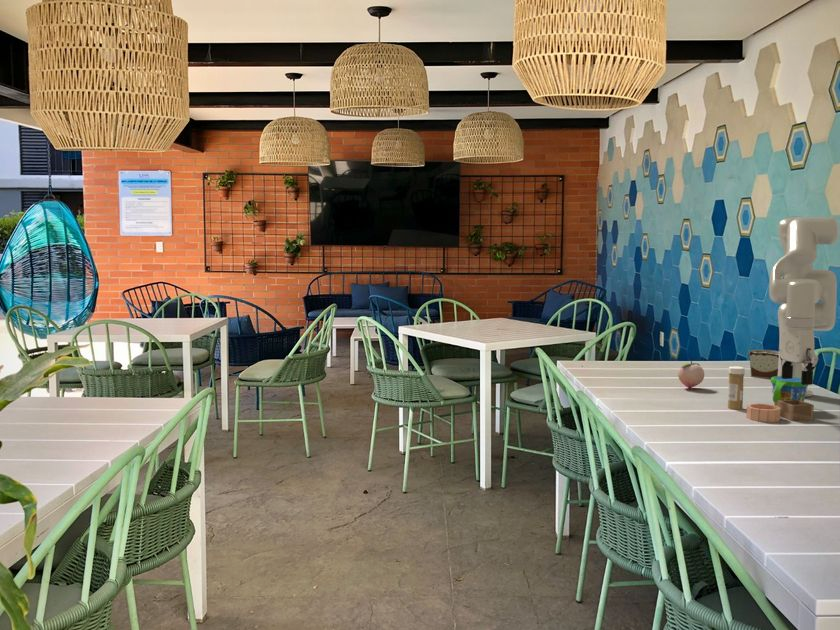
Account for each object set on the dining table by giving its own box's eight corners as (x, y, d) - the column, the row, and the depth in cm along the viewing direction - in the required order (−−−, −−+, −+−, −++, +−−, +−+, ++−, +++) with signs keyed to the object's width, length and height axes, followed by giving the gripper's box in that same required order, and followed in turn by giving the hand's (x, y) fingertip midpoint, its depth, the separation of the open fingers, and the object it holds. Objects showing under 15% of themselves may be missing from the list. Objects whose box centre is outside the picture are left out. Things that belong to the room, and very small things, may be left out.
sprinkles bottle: (745, 411, 251) (747, 368, 249) (732, 412, 250) (734, 368, 248) (736, 408, 255) (738, 365, 254) (723, 408, 254) (725, 366, 253)
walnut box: (776, 417, 243) (777, 400, 243) (798, 416, 244) (799, 400, 244) (790, 422, 236) (791, 405, 236) (812, 421, 237) (813, 404, 237)
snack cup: (787, 405, 260) (788, 373, 259) (818, 411, 251) (820, 378, 250) (757, 410, 252) (758, 378, 251) (789, 417, 243) (790, 383, 242)
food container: (784, 377, 312) (785, 351, 311) (781, 379, 307) (782, 353, 306) (750, 374, 318) (751, 348, 317) (746, 376, 313) (748, 350, 312)
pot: (740, 417, 243) (741, 404, 242) (768, 416, 244) (769, 403, 243) (756, 424, 234) (757, 410, 233) (786, 423, 235) (786, 409, 235)
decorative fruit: (694, 392, 281) (695, 363, 280) (673, 388, 287) (674, 360, 286) (708, 388, 287) (710, 360, 286) (687, 385, 293) (688, 357, 292)
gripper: (770, 320, 245) (768, 376, 247) (805, 326, 228) (802, 387, 230) (794, 320, 246) (791, 376, 248) (830, 326, 229) (827, 386, 231)
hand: (796, 381), depth 239 cm, fingers open, 9 cm apart
